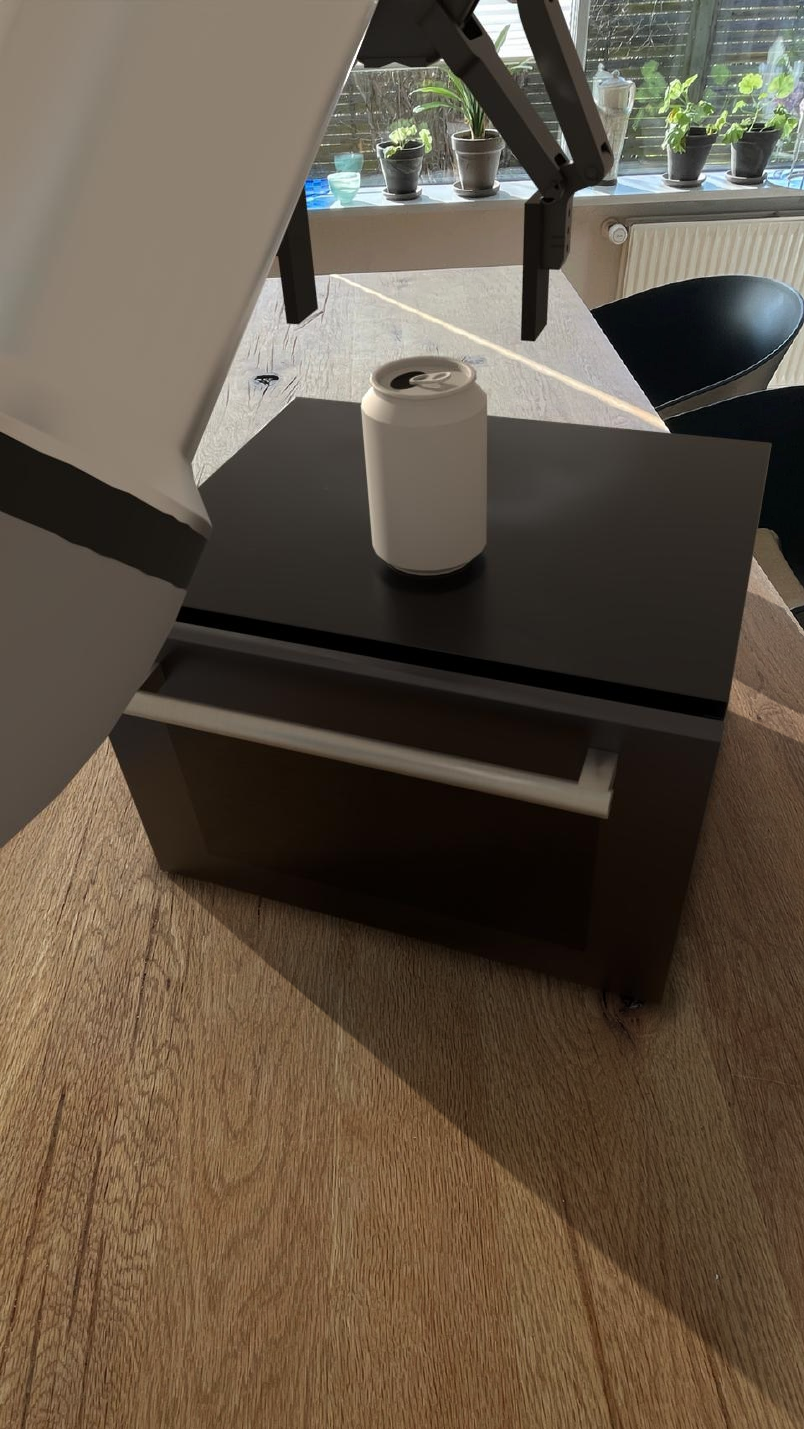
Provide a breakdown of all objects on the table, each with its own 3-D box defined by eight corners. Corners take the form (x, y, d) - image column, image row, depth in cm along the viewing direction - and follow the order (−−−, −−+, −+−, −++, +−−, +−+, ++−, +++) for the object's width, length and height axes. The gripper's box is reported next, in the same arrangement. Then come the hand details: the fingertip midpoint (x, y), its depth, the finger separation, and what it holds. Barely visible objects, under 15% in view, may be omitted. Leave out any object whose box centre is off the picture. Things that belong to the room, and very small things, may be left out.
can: (408, 514, 67) (399, 341, 59) (505, 537, 64) (509, 358, 56) (351, 566, 62) (333, 385, 54) (454, 593, 59) (450, 406, 51)
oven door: (652, 1056, 63) (713, 795, 45) (135, 907, 74) (24, 654, 57) (665, 986, 66) (725, 720, 49) (169, 855, 78) (75, 602, 61)
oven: (665, 985, 67) (729, 701, 50) (171, 854, 78) (87, 589, 61) (715, 703, 89) (771, 442, 72) (326, 634, 101) (295, 396, 84)
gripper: (716, -236, 38) (653, 315, 52) (171, -179, 45) (244, 290, 59) (692, -251, 32) (628, 366, 46) (80, -184, 40) (184, 332, 54)
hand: (414, 324), depth 53 cm, fingers open, 13 cm apart
